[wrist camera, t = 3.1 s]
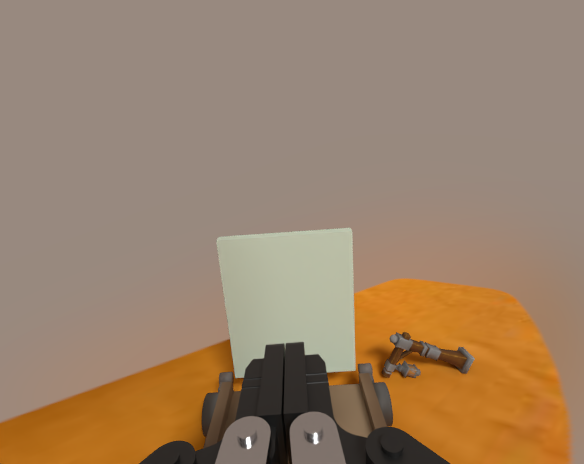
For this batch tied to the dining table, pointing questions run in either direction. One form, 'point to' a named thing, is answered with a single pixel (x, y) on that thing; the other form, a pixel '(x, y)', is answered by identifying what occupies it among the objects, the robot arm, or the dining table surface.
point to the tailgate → (290, 294)
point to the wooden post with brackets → (424, 349)
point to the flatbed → (345, 402)
